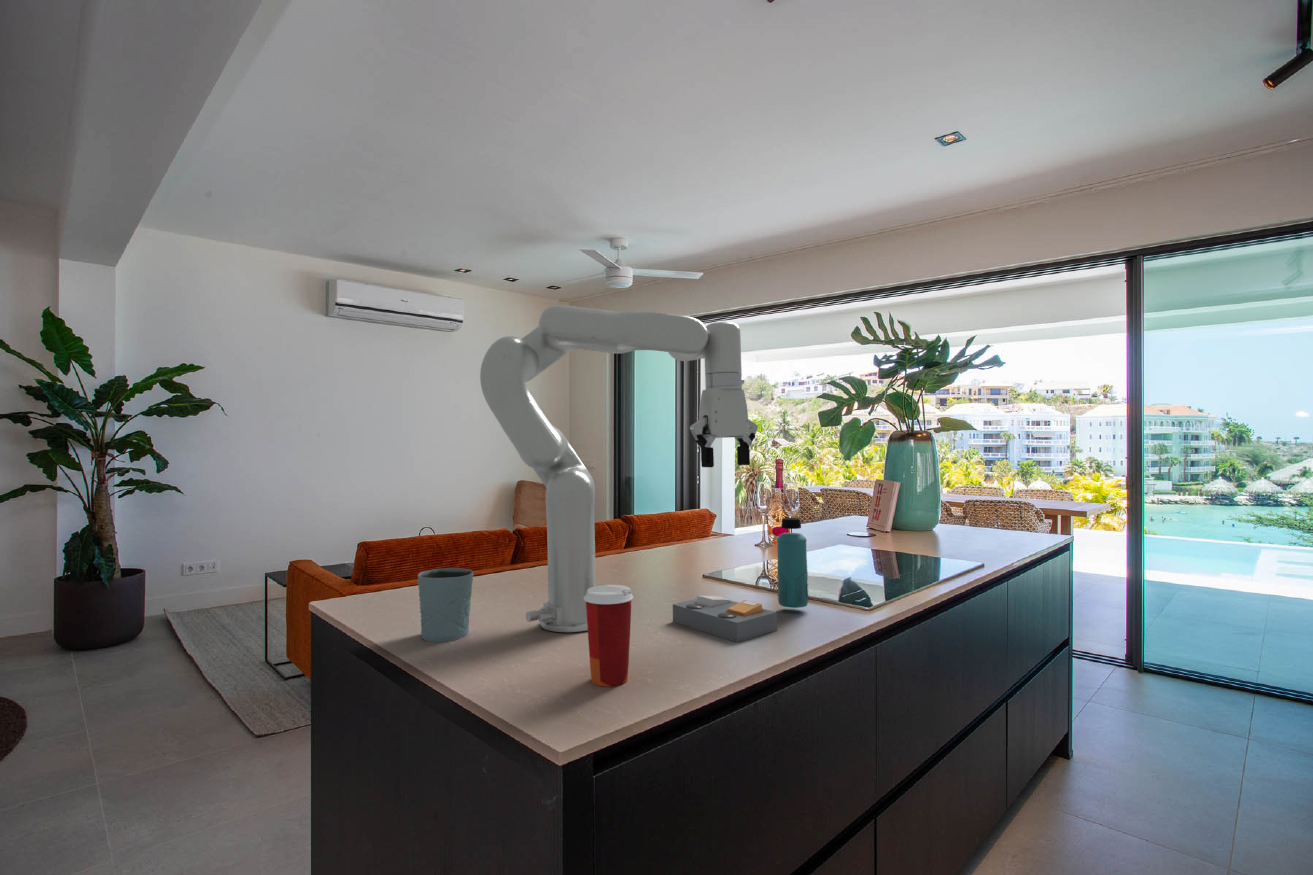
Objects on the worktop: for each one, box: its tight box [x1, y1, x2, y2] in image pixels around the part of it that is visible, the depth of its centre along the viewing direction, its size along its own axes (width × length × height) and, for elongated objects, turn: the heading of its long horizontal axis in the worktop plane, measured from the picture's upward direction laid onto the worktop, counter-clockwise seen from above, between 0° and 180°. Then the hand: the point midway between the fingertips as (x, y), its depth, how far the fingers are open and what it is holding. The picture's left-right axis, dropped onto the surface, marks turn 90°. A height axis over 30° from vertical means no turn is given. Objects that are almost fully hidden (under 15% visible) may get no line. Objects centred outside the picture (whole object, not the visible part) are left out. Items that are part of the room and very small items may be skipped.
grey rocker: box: [696, 595, 730, 608], centre depth 133 cm, size 5×4×2 cm
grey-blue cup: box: [417, 567, 475, 643], centre depth 124 cm, size 10×10×12 cm
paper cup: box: [584, 584, 634, 688], centre depth 100 cm, size 8×8×14 cm
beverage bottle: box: [776, 517, 809, 609], centre depth 139 cm, size 6×7×20 cm
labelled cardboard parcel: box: [728, 599, 763, 617], centre depth 126 cm, size 5×4×2 cm
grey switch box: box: [672, 598, 778, 643], centre depth 128 cm, size 11×18×4 cm, turn 39°
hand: (726, 466), depth 133 cm, fingers open, 9 cm apart
